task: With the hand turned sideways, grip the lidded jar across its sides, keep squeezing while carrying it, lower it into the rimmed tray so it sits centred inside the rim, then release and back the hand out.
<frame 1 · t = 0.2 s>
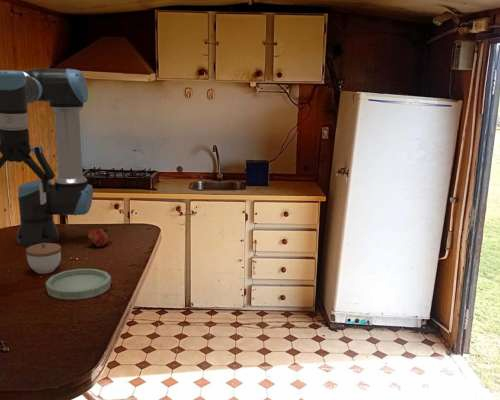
hand: (19, 202, 150), 27 cm above the table, tool pointing down, fingers open, 13 cm apart
rimmed tray: (79, 287, 161), on the table
pomegranate: (97, 246, 199), on the table
lidded jar: (45, 270, 174), on the table
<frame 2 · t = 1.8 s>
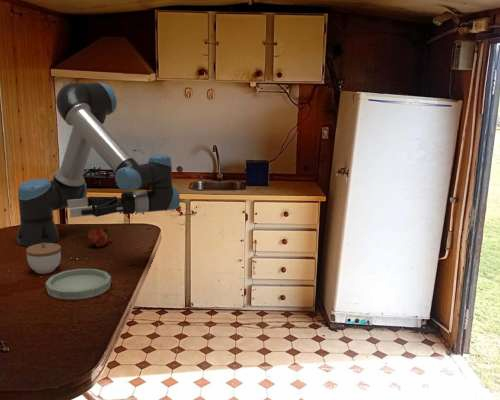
hand: (68, 208, 172), 20 cm above the table, tool horizontal, fingers open, 13 cm apart
nothing on the table moved.
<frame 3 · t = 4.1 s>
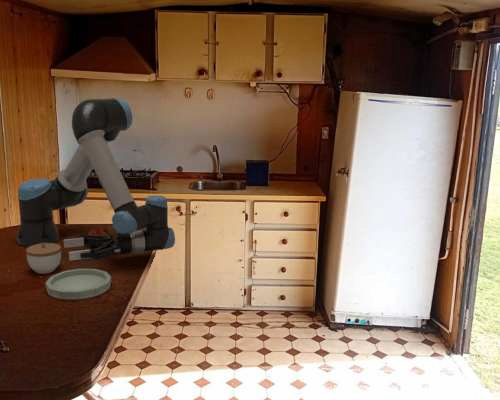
hand: (66, 249, 175), 6 cm above the table, tool horizontal, fingers open, 13 cm apart
nothing on the table moved.
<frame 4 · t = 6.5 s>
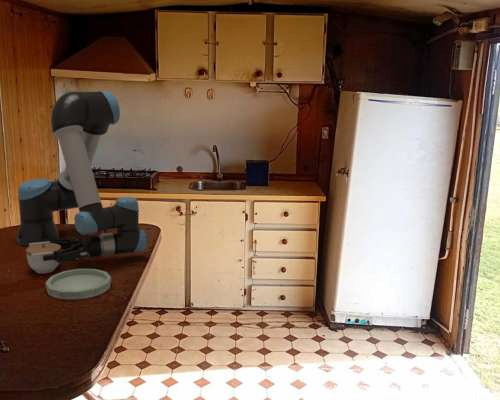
hand: (30, 253, 170), 7 cm above the table, tool horizontal, fingers closed on lidded jar, 11 cm apart
lidded jar: (45, 270, 174), on the table, touching gripper
everything else where it was.
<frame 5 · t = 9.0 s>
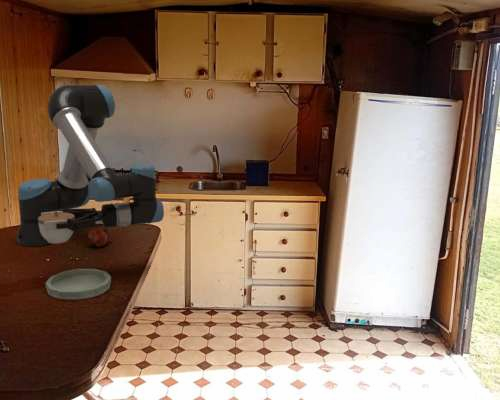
hand: (42, 221, 161), 19 cm above the table, tool horizontal, fingers closed on lidded jar, 11 cm apart
lidded jar: (58, 241, 165), point 12 cm above the table, touching gripper
everything else where it was.
when the fingers open (9 cm above the table, at t = 12.0 s): lidded jar drops 1 cm, resting on rimmed tray.
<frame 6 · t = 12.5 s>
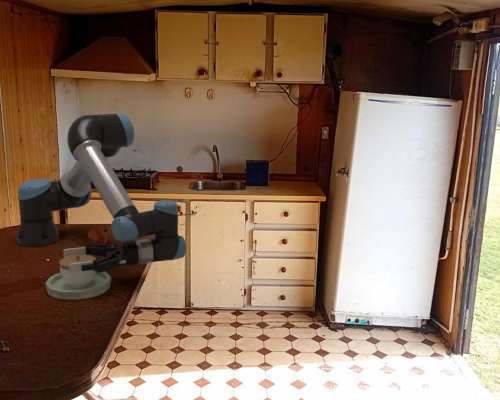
hand: (66, 261, 157), 9 cm above the table, tool horizontal, fingers open, 13 cm apart
lidded jar: (79, 284, 161), point 1 cm above the table, touching rimmed tray
everything else where it was.
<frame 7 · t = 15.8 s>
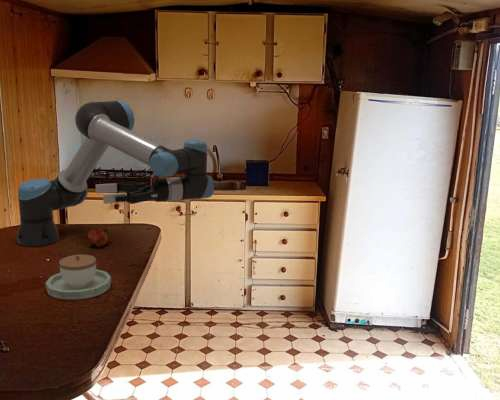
hand: (99, 193, 161), 28 cm above the table, tool horizontal, fingers open, 13 cm apart
nothing on the table moved.
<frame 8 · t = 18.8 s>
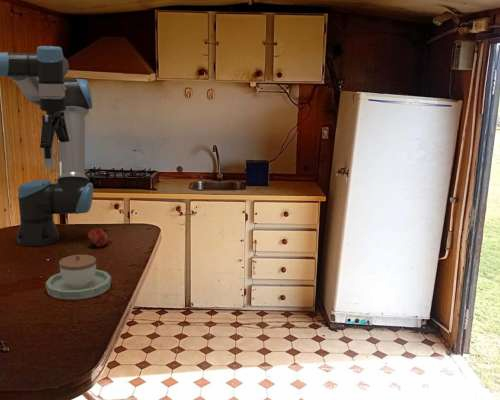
hand: (56, 165, 169), 35 cm above the table, tool pointing down, fingers open, 13 cm apart
nothing on the table moved.
at the end: lidded jar 0.0 cm off-centre on the rimmed tray, point 0.8 cm above the rimmed tray's base; lidded jar tilted 0°; the gripper is holding nothing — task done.
